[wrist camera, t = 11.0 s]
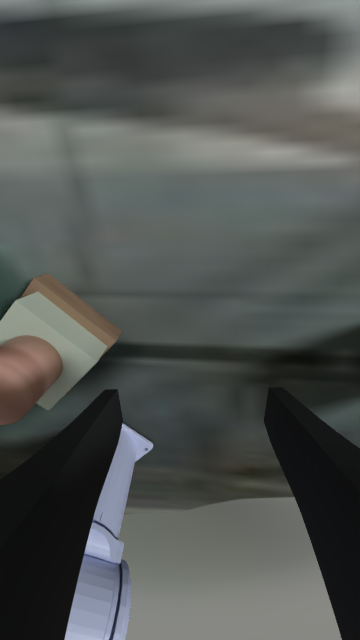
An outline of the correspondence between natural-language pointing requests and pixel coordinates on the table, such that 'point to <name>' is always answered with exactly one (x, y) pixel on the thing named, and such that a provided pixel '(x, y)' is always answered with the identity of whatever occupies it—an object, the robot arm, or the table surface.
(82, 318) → the walnut base slab
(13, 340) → the salmon pink cylinder
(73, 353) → the sage top slab
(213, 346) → the table surface
